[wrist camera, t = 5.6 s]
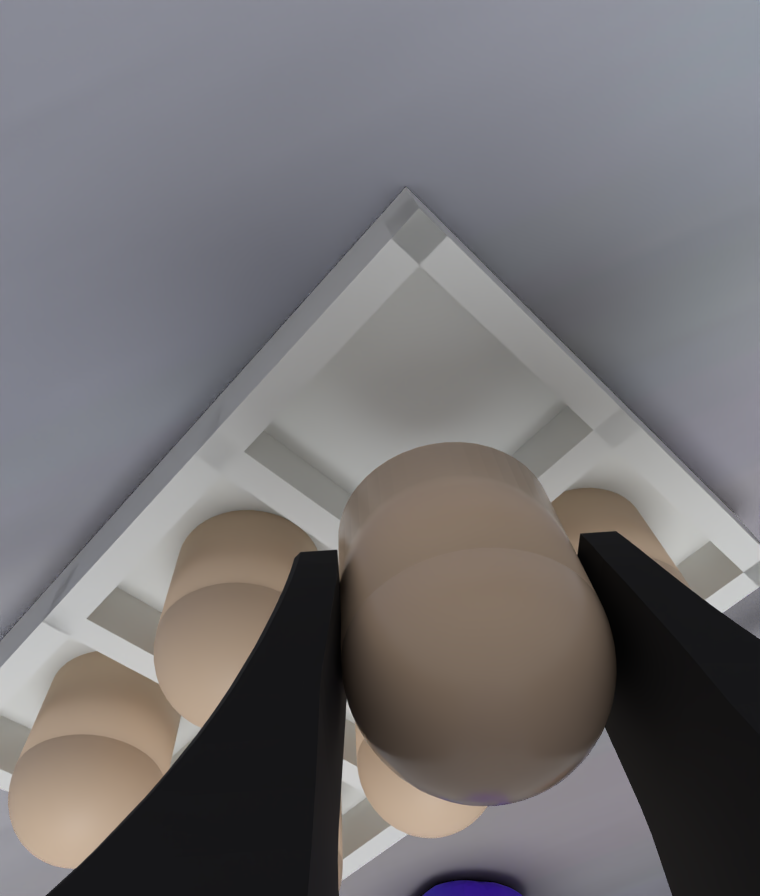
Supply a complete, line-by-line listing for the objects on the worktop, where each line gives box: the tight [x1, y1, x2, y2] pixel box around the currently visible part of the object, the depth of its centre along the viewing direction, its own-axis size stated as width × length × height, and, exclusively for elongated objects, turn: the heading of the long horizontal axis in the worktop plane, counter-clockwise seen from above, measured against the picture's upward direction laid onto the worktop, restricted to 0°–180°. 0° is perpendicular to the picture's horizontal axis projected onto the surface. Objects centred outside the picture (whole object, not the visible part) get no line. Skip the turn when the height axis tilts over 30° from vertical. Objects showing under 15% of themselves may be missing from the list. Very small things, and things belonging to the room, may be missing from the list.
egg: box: [338, 442, 617, 806], centre depth 11 cm, size 4×4×5 cm
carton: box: [0, 187, 760, 890], centre depth 19 cm, size 14×21×6 cm
